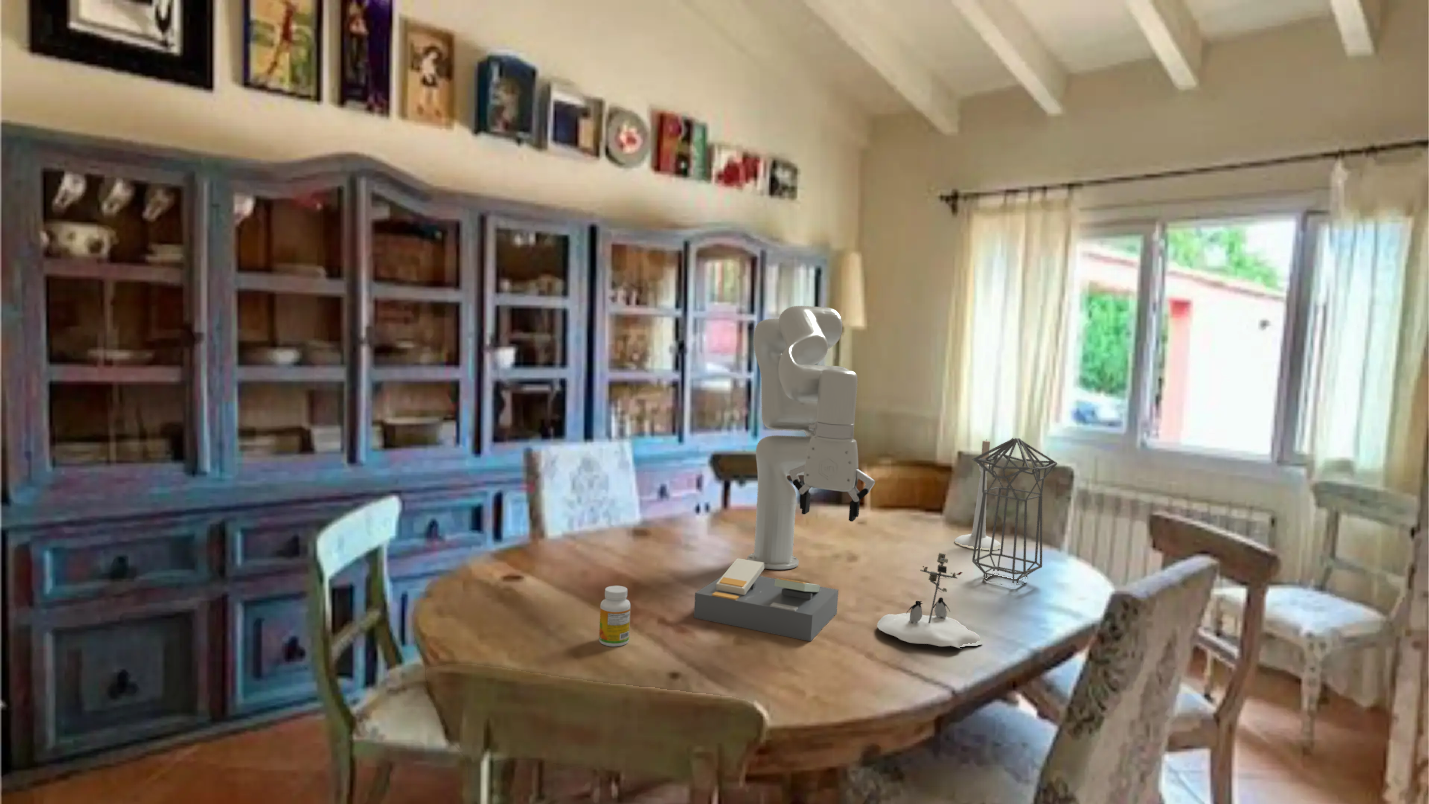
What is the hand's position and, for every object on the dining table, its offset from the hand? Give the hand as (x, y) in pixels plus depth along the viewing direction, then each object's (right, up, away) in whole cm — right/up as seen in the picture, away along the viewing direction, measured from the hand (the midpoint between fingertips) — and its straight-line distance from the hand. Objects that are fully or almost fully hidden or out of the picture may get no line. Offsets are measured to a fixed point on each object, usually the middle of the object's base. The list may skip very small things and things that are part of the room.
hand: (828, 516), depth 169 cm
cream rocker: (-17, -13, +3) cm, 22 cm away
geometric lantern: (+46, -21, +34) cm, 61 cm away
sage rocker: (-6, -14, -2) cm, 16 cm away
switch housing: (-12, -20, +1) cm, 24 cm away
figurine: (+18, -23, -5) cm, 30 cm away
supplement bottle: (-41, -20, -17) cm, 49 cm away
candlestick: (+51, -18, +70) cm, 88 cm away
